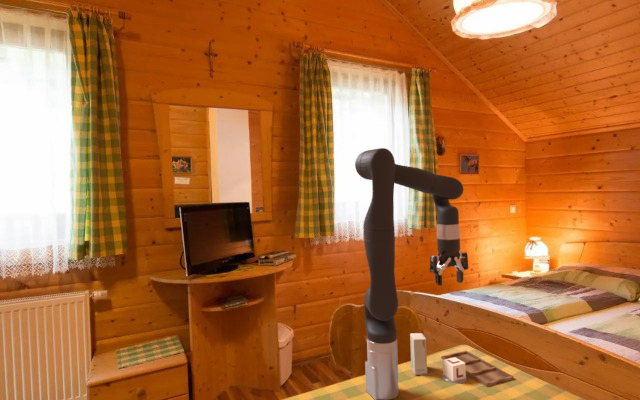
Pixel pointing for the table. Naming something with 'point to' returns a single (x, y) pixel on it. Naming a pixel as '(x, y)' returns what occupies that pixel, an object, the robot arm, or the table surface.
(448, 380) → the slate coaster
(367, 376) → the robot arm
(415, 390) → the table surface
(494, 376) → the tray
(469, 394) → the table surface
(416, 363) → the skincare box
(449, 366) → the letter cube
